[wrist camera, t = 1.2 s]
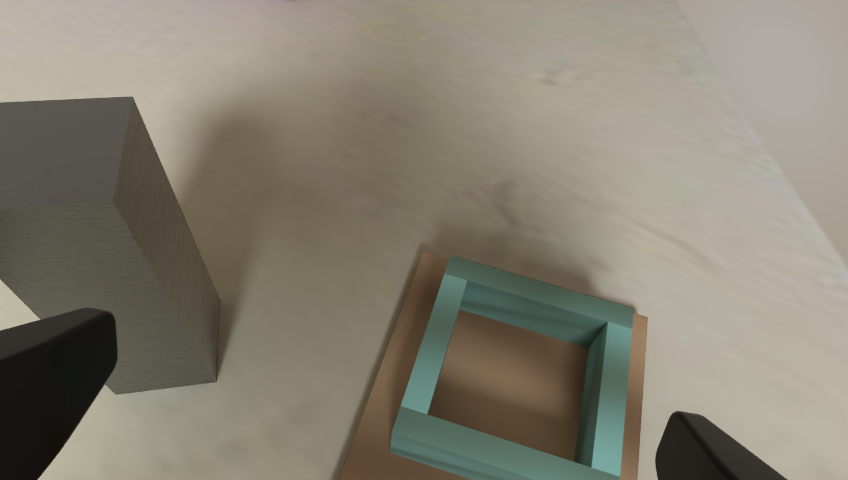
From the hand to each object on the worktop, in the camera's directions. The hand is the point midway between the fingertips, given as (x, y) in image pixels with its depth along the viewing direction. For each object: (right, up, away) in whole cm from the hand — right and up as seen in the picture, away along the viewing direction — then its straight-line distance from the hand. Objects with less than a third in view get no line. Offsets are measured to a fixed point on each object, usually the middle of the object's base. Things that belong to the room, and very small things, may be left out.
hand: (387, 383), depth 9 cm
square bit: (-11, -2, +16) cm, 19 cm away
